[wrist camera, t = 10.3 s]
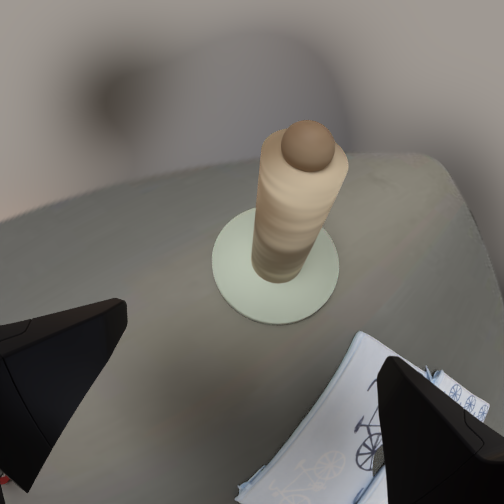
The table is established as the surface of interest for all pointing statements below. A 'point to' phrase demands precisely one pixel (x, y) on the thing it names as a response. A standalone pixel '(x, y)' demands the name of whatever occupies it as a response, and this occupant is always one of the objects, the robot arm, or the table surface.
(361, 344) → the open notebook
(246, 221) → the disc
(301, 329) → the table surface
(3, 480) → the canned food
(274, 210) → the pepper mill
